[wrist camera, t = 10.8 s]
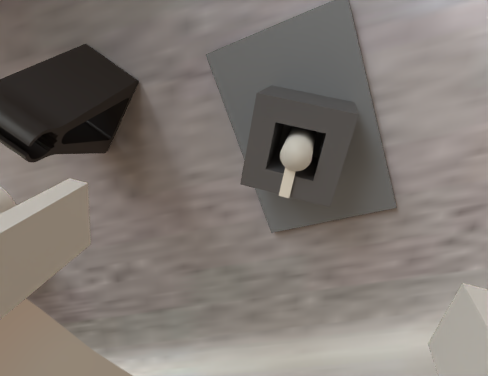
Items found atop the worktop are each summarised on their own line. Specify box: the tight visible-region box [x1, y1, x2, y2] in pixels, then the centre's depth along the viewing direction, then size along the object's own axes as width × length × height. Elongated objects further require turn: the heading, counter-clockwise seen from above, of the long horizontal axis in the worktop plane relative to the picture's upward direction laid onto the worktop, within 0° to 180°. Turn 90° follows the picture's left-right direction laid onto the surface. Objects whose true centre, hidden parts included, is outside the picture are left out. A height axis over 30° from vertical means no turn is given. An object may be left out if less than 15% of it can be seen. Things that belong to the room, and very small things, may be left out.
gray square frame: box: [241, 85, 359, 207], centre depth 26 cm, size 7×7×6 cm
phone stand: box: [0, 44, 138, 162], centre depth 29 cm, size 9×6×12 cm, turn 147°
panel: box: [206, 0, 397, 233], centre depth 27 cm, size 18×12×8 cm, turn 20°
